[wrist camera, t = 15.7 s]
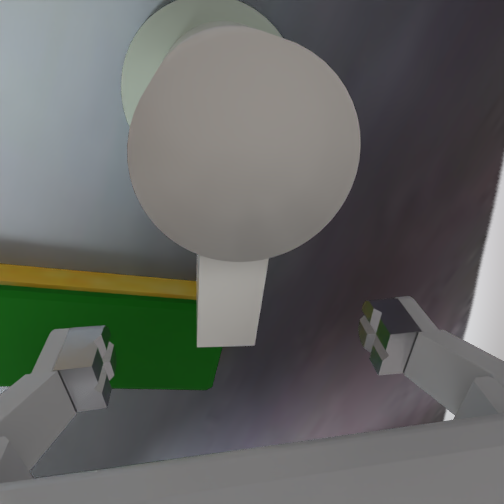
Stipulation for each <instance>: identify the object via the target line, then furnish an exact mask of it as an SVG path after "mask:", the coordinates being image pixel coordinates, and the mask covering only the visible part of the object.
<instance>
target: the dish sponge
mask: <svg viewBox="0 0 504 504" xmlns="http://www.w3.org/2000/svg"><path fill="white" fill-rule="evenodd" d="M102 325H106V326H108V328H109V330H110V333H111V336H110V339H109V342H111V343H112V344H114V347H115V350H116V370H115V375H114V376H113V377H112V379H111V380H110V381H109V382H110V385H111V388H117V389H170V390H207V389H209V388H211V387H212V386H213V382H214V378H215V374H216V370H217V366H218V362H219V358H220V355H221V351H222V347H197V299H196V281H189V280H178V279H167V278H156V277H144V276H133V275H122V274H111V273H99V272H88V271H77V270H66V269H54V268H43V267H32V266H21V265H10V264H0V386H12V385H13V384H14V383H15V382H17V381H18V380H19V379H20V378H22V377H23V376H24V375H25V374H31V373H32V370H33V368H34V366H35V364H36V362H37V360H38V358H39V355H40V353H41V351H42V349H43V347H44V345H45V343H46V340H47V338H48V336H49V334H50V333H51V332H52V331H53V330H54V329H66V328H74V327H88V326H102Z"/></svg>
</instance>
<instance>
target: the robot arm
mask: <svg viewBox="0 0 504 504" xmlns="http://www.w3.org/2000/svg"><path fill="white" fill-rule="evenodd" d="M362 311H363V313H364V316H363V317H362V318H361V319H360V320H359V325H358V332H359V338H360V341H361V343H362V345H363V347H364V348H365V349H366V350H368V351H369V352H371V355H370V361H371V362H372V364H373V366H374V368H375V370H376V372H377V374H378V375H388V374H399V373H404V375H405V376H406V377H408V378H409V379H410V380H411V381H413V382H414V383H415V384H416V385H418V386H419V387H420V388H421V389H423V390H424V391H425V392H426V393H428V394H429V395H430V396H431V397H433V398H434V399H435V400H436V401H438V402H439V403H440V404H441V405H443V406H444V407H445V408H446V409H448V410H449V411H450V412H451V413H453V414H454V415H455V417H454V419H453V420H450V421H442V422H435V423H428V424H421V425H413V426H406V427H399V428H392V429H385V430H378V431H371V432H364V433H356V434H349V435H342V436H335V437H328V438H321V439H314V440H307V441H300V442H293V443H286V444H278V445H271V446H264V447H257V448H249V449H242V450H235V451H228V452H220V453H213V454H206V455H199V456H192V457H184V458H177V459H170V460H163V461H156V462H149V463H141V464H134V465H127V466H120V467H113V468H106V469H98V470H91V471H84V472H77V473H70V474H63V475H55V476H48V477H41V478H33V476H32V475H31V473H30V472H29V471H30V470H31V469H32V468H33V467H34V465H35V464H36V463H37V462H38V461H39V459H40V458H41V457H42V456H43V454H44V453H45V452H46V451H47V450H48V448H49V447H50V446H51V445H52V444H53V442H54V441H55V440H56V439H57V438H58V436H59V435H60V434H61V433H62V431H63V430H64V429H65V428H66V427H67V425H68V424H69V423H70V422H71V421H72V419H73V418H74V417H75V416H76V413H77V412H84V411H91V410H97V409H104V408H107V406H108V402H109V397H110V393H111V389H112V388H111V385H110V382H109V381H110V380H111V379H112V377H113V376H114V375H115V370H116V350H115V347H114V344H112V343H111V342H109V339H110V336H111V333H110V330H109V328H108V326H106V325H102V326H88V327H74V328H66V329H54V330H53V331H52V332H51V333H50V334H49V336H48V338H47V340H46V343H45V345H44V347H43V349H42V351H41V353H40V355H39V358H38V360H37V362H36V364H35V366H34V368H33V370H32V373H31V374H25V375H24V376H23V377H22V378H20V379H19V380H18V381H17V382H15V383H14V384H13V385H12V386H10V387H9V388H8V389H7V390H5V391H4V392H3V393H2V394H0V504H504V361H502V360H500V359H498V358H496V357H495V356H493V355H491V354H489V353H487V352H485V351H483V350H481V349H479V348H477V347H475V346H474V345H472V344H470V343H468V342H466V341H464V340H462V339H460V338H458V337H456V336H454V335H452V334H451V333H449V332H447V331H445V330H438V328H437V327H436V326H435V325H434V323H433V322H432V321H431V320H430V318H429V317H428V316H427V315H426V313H425V312H424V311H423V310H422V309H421V307H420V306H419V305H418V304H417V302H416V301H415V300H414V299H413V298H412V297H410V296H404V297H395V298H387V299H377V300H367V301H365V302H364V304H363V307H362Z"/></svg>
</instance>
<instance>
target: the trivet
mask: <svg viewBox="0 0 504 504" xmlns="http://www.w3.org/2000/svg"><path fill="white" fill-rule="evenodd" d="M211 21H232V22H237V23H241V24H244V25H246V26H249V27H252V28H255V29H258V30H261V31H264V32H267V33H270V34H273V35H276V36H278V37H281V38H283V37H282V36H281V35H280V33H279V32H278V30H277V29H276V28H275V27H274V26H273V25H272V24H271V23H270V22H269V21H268V19H267V18H266V17H264V16H263V15H262V14H260V13H259V12H258V11H256V10H255V9H253V8H252V7H250V6H248V5H246V4H244V3H242V2H240V1H237V0H176V1H174V2H172V3H170V4H168V5H166V6H164V7H163V8H161V9H160V10H158V11H157V12H155V13H154V14H153V15H152V16H151V17H150V18H149V19H148V20H147V21H146V22H145V23H144V24H143V25H142V26H141V28H140V29H139V30H138V32H137V33H136V35H135V37H134V38H133V40H132V42H131V44H130V46H129V48H128V51H127V54H126V56H125V60H124V64H123V68H122V77H121V97H122V103H123V109H124V113H125V116H126V119H127V122H128V125H129V127H130V125H131V121H132V118H133V114H134V112H135V109H136V107H137V105H138V102H139V100H140V98H141V96H142V94H143V93H144V91H145V89H146V88H147V86H148V84H149V83H150V81H151V79H152V78H153V76H154V74H155V73H156V71H157V69H158V68H159V66H160V64H161V63H162V61H163V59H164V57H165V56H166V54H167V53H168V51H169V49H170V48H171V46H172V45H173V44H174V43H175V42H176V40H177V39H178V38H180V37H181V36H182V35H183V34H184V33H186V32H187V31H189V30H190V29H192V28H194V27H196V26H198V25H200V24H203V23H207V22H211Z"/></svg>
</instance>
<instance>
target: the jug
mask: <svg viewBox="0 0 504 504" xmlns="http://www.w3.org/2000/svg"><path fill="white" fill-rule="evenodd" d="M360 148H361V141H360V128H359V122H358V116H357V113H356V110H355V107H354V104H353V101H352V99H351V97H350V95H349V93H348V91H347V89H346V87H345V86H344V84H343V83H342V81H341V80H340V78H339V77H338V75H337V74H336V73H335V72H334V71H333V70H332V69H331V68H330V67H329V66H328V64H327V63H326V62H324V61H323V60H322V59H321V58H319V57H318V56H317V55H316V54H314V53H313V52H312V51H310V50H308V49H306V48H304V47H303V46H301V45H299V44H297V43H295V42H292V41H289V40H287V39H284V38H281V37H278V36H276V35H273V34H270V33H267V32H264V31H261V30H258V29H255V28H252V27H249V26H246V25H244V24H241V23H237V22H232V21H211V22H207V23H203V24H200V25H198V26H196V27H194V28H192V29H190V30H189V31H187V32H186V33H184V34H183V35H182V36H181V37H180V38H178V39H177V40H176V42H175V43H174V44H173V45H172V46H171V48H170V49H169V51H168V53H167V54H166V56H165V57H164V59H163V61H162V63H161V64H160V66H159V68H158V69H157V71H156V73H155V74H154V76H153V78H152V79H151V81H150V83H149V84H148V86H147V88H146V89H145V91H144V93H143V94H142V96H141V98H140V100H139V102H138V105H137V107H136V109H135V112H134V114H133V118H132V121H131V125H130V129H129V135H128V143H127V162H128V168H129V174H130V179H131V182H132V185H133V189H134V192H135V194H136V196H137V198H138V200H139V203H140V205H141V206H142V208H143V209H144V211H145V213H146V214H147V216H148V217H149V218H150V220H151V221H152V222H153V223H154V224H155V226H156V227H157V228H158V229H159V230H160V231H161V232H163V233H164V234H165V235H166V236H167V237H168V238H170V239H171V240H172V241H174V242H175V243H176V244H178V245H180V246H182V247H183V248H185V249H187V250H189V251H191V252H193V253H196V254H197V268H196V299H197V347H227V346H255V341H256V334H257V328H258V322H259V316H260V310H261V304H262V298H263V291H264V285H265V279H266V273H267V267H268V261H269V258H272V257H276V256H278V255H281V254H284V253H286V252H289V251H291V250H293V249H295V248H297V247H299V246H300V245H302V244H304V243H305V242H307V241H308V240H310V239H311V238H312V237H314V236H315V235H316V234H317V233H319V232H320V231H321V230H322V229H323V228H324V227H325V226H326V225H327V224H328V223H329V222H330V221H331V220H332V219H333V217H334V216H335V215H336V214H337V212H338V211H339V210H340V208H341V206H342V205H343V203H344V202H345V200H346V198H347V196H348V194H349V192H350V190H351V188H352V185H353V182H354V180H355V177H356V174H357V169H358V164H359V159H360Z"/></svg>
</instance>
